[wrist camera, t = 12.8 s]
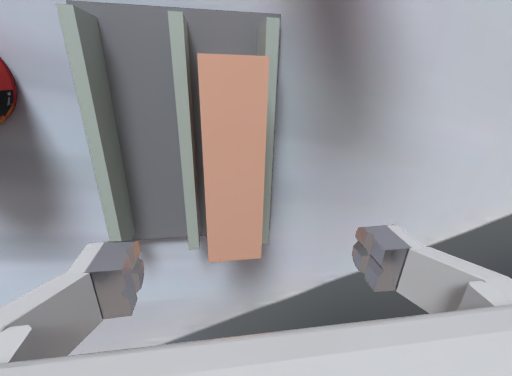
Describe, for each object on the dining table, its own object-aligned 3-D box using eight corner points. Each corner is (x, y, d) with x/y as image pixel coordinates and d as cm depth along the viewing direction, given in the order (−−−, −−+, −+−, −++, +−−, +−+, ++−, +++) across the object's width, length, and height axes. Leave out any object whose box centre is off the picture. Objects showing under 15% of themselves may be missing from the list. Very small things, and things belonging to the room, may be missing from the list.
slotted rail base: (277, 17, 24) (294, 2, 19) (267, 225, 33) (277, 251, 28) (73, 3, 21) (34, -17, 17) (120, 234, 30) (103, 264, 25)
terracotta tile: (247, 63, 24) (269, 56, 15) (245, 201, 29) (261, 258, 20) (202, 61, 23) (197, 53, 14) (209, 203, 29) (208, 262, 20)
